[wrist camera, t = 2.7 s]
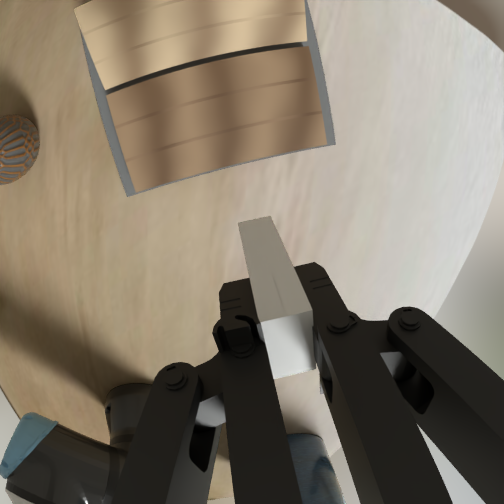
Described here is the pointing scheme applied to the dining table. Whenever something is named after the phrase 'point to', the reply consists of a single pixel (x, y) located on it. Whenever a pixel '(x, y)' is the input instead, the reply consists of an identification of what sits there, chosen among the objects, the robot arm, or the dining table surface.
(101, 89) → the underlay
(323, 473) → the planter
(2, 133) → the vase
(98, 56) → the plank
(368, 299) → the dining table surface
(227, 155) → the laid board
